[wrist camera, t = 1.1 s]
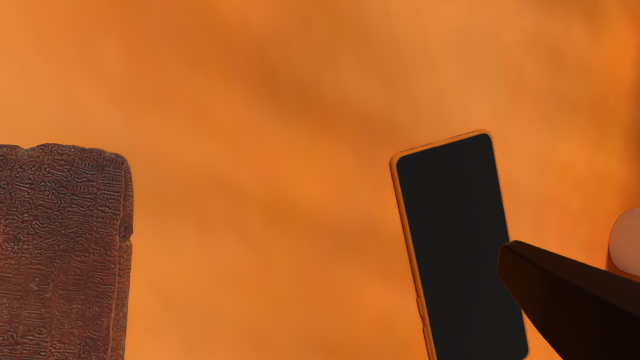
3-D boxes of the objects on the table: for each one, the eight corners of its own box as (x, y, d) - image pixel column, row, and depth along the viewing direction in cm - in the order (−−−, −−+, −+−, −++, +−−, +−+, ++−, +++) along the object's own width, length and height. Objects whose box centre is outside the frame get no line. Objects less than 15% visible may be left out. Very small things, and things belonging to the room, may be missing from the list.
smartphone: (484, 127, 29) (493, 126, 28) (523, 352, 32) (532, 357, 31) (383, 156, 27) (389, 156, 26) (434, 393, 30) (441, 400, 29)
